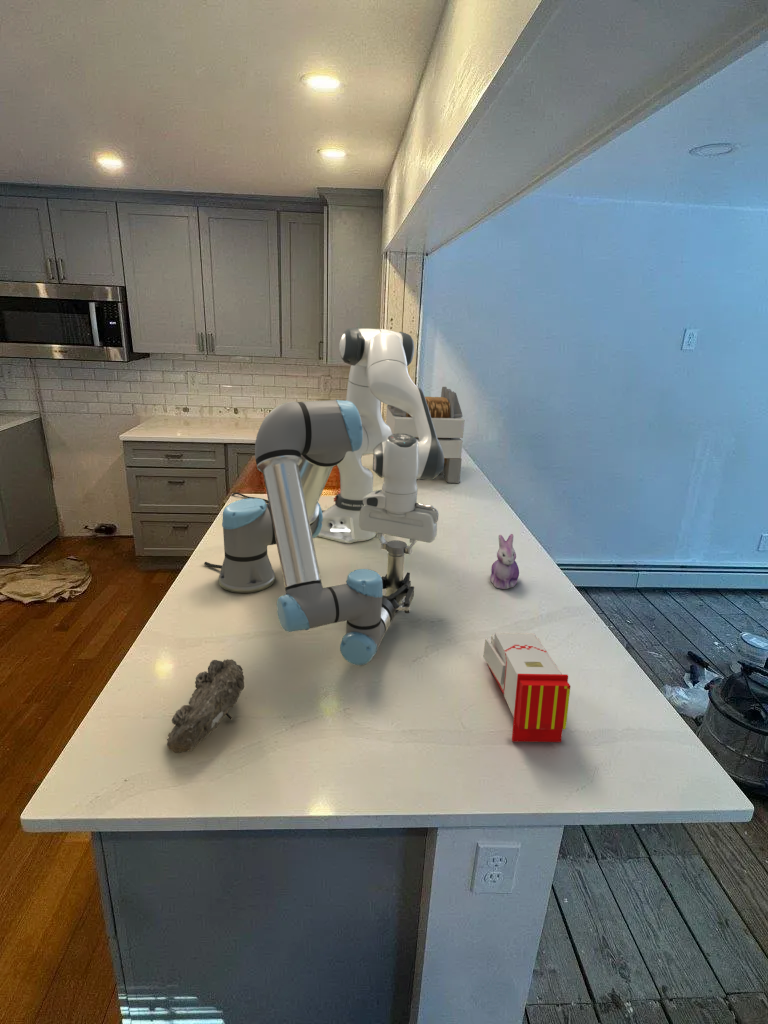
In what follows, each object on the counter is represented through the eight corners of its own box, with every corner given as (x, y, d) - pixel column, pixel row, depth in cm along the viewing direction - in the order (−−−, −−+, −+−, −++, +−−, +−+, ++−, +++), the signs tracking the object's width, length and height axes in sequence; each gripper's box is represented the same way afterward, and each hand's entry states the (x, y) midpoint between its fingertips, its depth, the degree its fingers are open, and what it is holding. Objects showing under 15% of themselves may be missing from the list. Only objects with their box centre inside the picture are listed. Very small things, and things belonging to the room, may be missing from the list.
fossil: (192, 660, 117) (244, 628, 112) (224, 691, 120) (276, 661, 115) (142, 746, 98) (202, 712, 93) (182, 779, 101) (242, 748, 96)
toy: (532, 616, 130) (580, 681, 101) (527, 670, 133) (572, 749, 103) (479, 615, 129) (512, 680, 100) (475, 669, 132) (506, 748, 103)
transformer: (382, 463, 289) (386, 382, 275) (445, 464, 293) (451, 384, 279) (390, 482, 257) (394, 392, 243) (460, 483, 261) (468, 394, 247)
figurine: (502, 593, 161) (508, 544, 156) (480, 578, 169) (486, 531, 164) (528, 587, 165) (535, 539, 160) (505, 572, 173) (511, 527, 168)
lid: (410, 548, 147) (410, 542, 146) (401, 556, 142) (402, 549, 142) (391, 544, 149) (391, 538, 148) (382, 551, 144) (382, 545, 144)
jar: (394, 612, 148) (398, 553, 143) (382, 606, 151) (384, 548, 145) (404, 606, 152) (408, 548, 146) (391, 600, 154) (394, 543, 148)
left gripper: (340, 624, 136) (368, 582, 157) (410, 637, 132) (429, 593, 153) (340, 597, 133) (369, 558, 155) (412, 609, 129) (431, 567, 151)
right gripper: (442, 503, 140) (438, 554, 145) (367, 490, 147) (365, 539, 152) (435, 510, 135) (431, 563, 140) (357, 497, 142) (355, 548, 146)
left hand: (399, 575), depth 154 cm, fingers closed on jar, 4 cm apart
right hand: (396, 551), depth 146 cm, fingers closed on lid, 5 cm apart
